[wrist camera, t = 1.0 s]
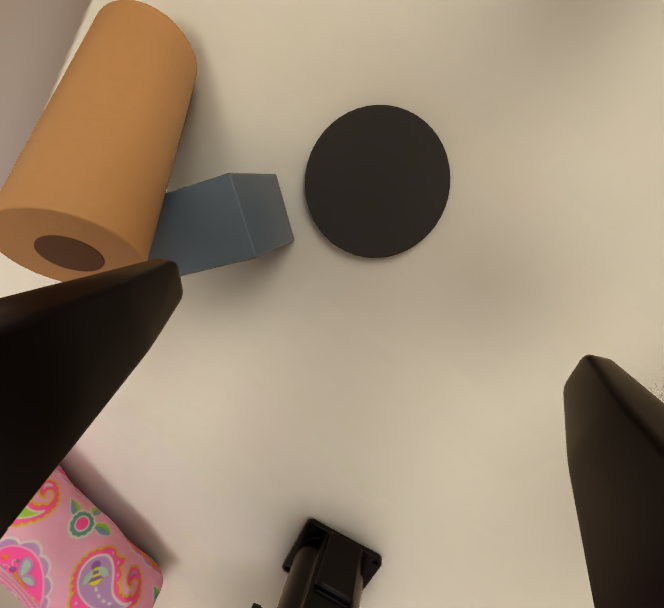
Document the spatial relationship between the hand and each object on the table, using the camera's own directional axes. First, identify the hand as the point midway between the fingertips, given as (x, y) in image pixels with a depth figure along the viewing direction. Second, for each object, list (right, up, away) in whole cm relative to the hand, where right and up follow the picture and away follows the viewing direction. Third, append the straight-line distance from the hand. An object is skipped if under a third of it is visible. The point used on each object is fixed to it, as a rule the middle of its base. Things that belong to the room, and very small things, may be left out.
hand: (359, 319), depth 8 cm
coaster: (+2, +7, +13) cm, 15 cm away
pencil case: (-24, -18, +28) cm, 41 cm away
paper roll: (-9, +10, +14) cm, 20 cm away
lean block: (-8, +5, +16) cm, 18 cm away
